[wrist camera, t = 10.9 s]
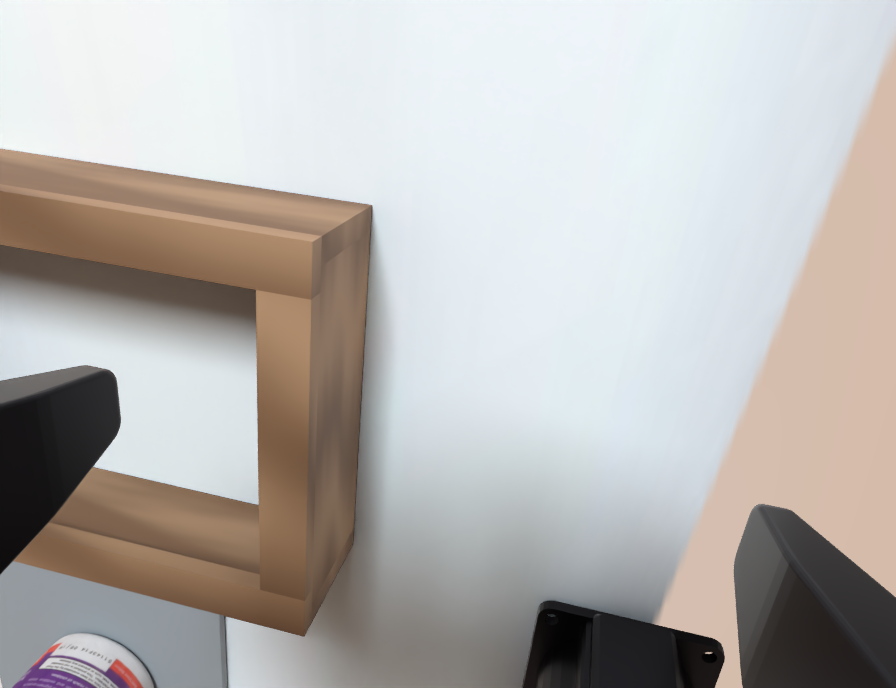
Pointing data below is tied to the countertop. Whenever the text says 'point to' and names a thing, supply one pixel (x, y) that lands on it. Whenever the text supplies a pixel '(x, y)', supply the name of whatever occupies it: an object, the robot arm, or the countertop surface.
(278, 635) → the countertop surface
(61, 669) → the pill bottle
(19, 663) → the mat
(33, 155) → the slot box
